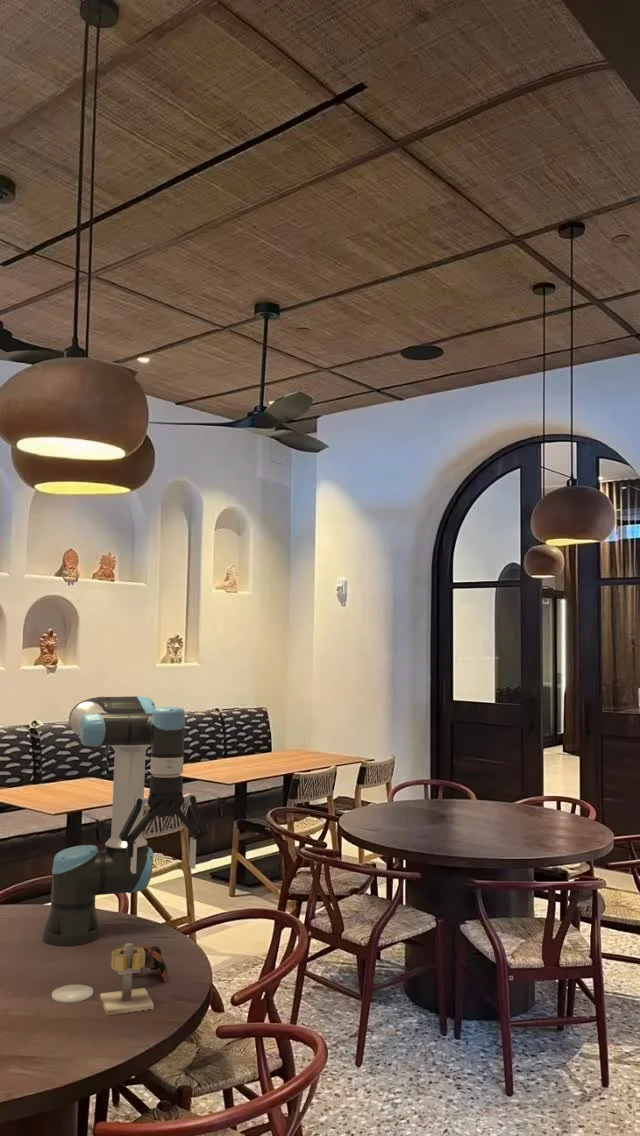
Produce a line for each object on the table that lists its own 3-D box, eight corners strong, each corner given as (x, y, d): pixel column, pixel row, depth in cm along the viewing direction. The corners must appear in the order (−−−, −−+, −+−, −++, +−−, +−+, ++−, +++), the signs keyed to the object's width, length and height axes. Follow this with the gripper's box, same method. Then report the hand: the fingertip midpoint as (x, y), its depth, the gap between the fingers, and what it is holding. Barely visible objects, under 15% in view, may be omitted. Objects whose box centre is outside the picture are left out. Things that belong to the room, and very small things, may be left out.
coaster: (49, 990, 196) (50, 987, 196) (90, 985, 199) (90, 982, 199) (53, 1005, 188) (53, 1002, 188) (95, 999, 191) (95, 996, 191)
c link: (109, 962, 192) (110, 948, 192) (140, 958, 194) (141, 945, 195) (114, 973, 186) (115, 958, 186) (146, 969, 188) (147, 954, 189)
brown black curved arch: (166, 990, 199) (149, 960, 198) (131, 1005, 200) (114, 975, 199) (178, 958, 211) (162, 930, 210) (145, 973, 212) (129, 945, 211)
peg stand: (99, 998, 192) (102, 940, 193) (144, 992, 196) (146, 935, 197) (106, 1015, 183) (109, 954, 184) (153, 1009, 186) (155, 949, 188)
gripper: (114, 779, 189) (110, 878, 187) (223, 775, 199) (220, 869, 197) (109, 774, 196) (105, 870, 194) (214, 771, 206) (211, 861, 204)
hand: (163, 869), depth 195 cm, fingers open, 13 cm apart
